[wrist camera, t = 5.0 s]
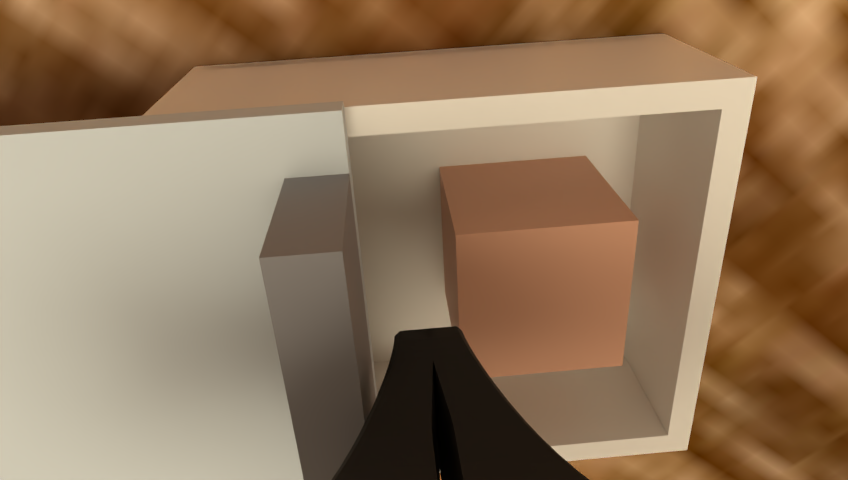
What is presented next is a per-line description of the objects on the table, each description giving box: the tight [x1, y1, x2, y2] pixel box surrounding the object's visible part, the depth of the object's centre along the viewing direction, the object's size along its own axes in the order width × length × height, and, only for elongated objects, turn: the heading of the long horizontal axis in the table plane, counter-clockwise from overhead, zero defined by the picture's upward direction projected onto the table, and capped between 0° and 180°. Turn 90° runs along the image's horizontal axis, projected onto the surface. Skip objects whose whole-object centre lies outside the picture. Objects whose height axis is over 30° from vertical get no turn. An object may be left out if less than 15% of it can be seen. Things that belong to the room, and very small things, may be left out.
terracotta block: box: [439, 156, 639, 377], centre depth 17 cm, size 4×4×4 cm
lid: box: [0, 101, 377, 480], centre depth 13 cm, size 12×10×4 cm
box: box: [142, 33, 757, 461], centre depth 17 cm, size 12×10×5 cm
